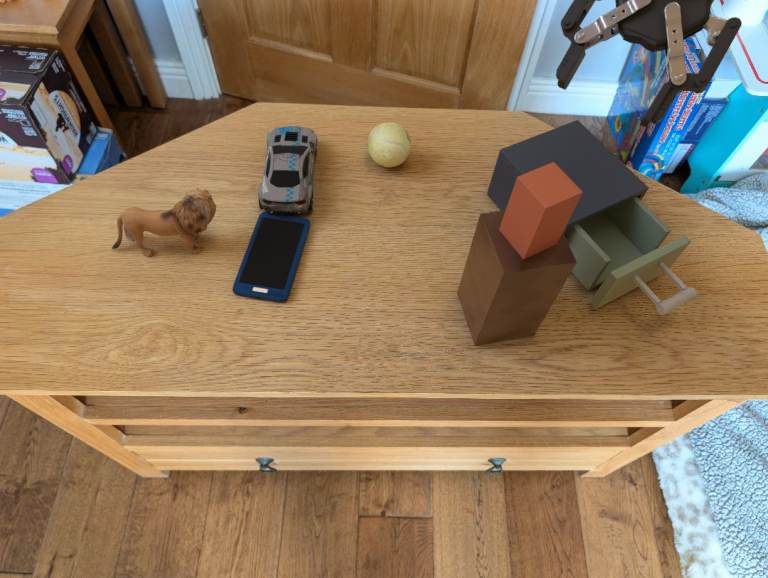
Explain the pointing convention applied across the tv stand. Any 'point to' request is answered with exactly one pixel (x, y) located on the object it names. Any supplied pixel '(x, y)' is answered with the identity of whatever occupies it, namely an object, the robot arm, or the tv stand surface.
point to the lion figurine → (169, 221)
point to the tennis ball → (389, 144)
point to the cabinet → (569, 170)
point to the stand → (509, 284)
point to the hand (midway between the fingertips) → (601, 105)
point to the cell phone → (272, 257)
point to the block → (539, 209)
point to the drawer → (626, 254)
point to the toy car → (289, 171)
